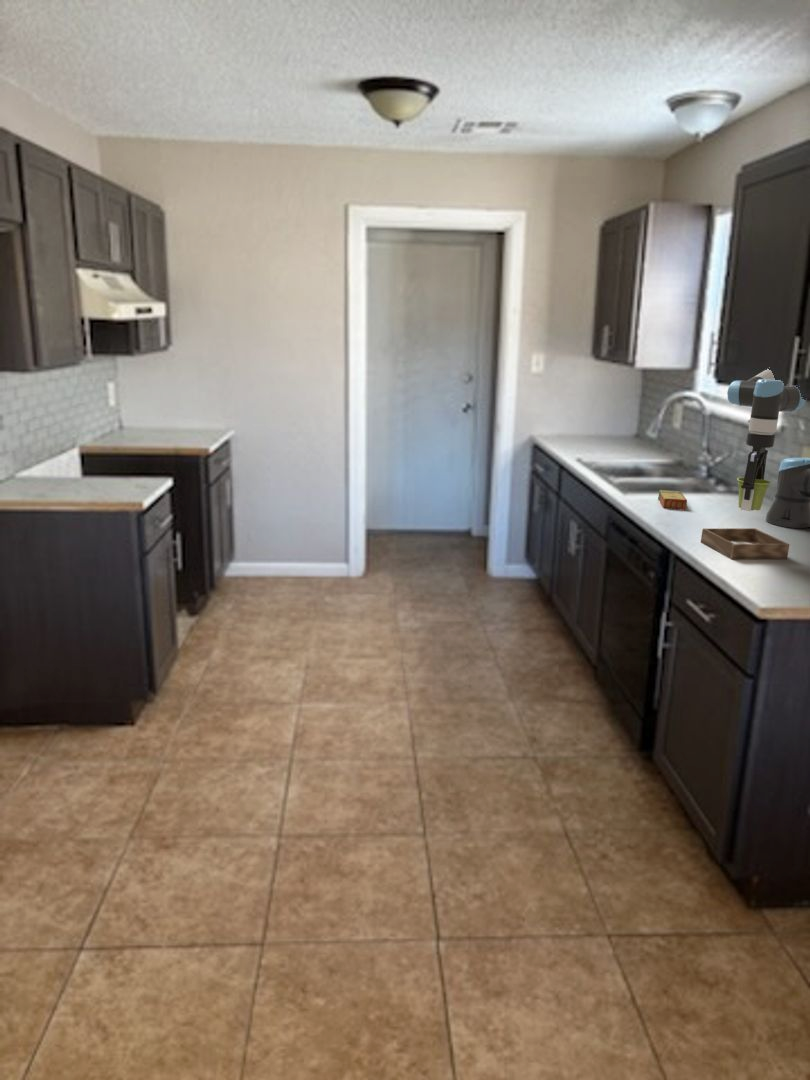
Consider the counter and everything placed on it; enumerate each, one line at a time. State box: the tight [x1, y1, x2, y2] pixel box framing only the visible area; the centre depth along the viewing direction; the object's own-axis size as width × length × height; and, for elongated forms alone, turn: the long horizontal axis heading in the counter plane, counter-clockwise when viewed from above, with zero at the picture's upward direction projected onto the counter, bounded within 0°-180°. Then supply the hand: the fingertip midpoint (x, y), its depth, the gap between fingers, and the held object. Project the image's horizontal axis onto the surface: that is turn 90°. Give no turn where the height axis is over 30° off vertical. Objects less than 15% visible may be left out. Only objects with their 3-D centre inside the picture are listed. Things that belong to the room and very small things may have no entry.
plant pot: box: [736, 477, 772, 511], centre depth 248 cm, size 9×9×9 cm
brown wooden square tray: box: [700, 527, 791, 560], centre depth 252 cm, size 18×18×4 cm
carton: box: [657, 489, 688, 510], centre depth 310 cm, size 8×16×4 cm, turn 170°
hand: (749, 507), depth 249 cm, fingers closed on plant pot, 8 cm apart
